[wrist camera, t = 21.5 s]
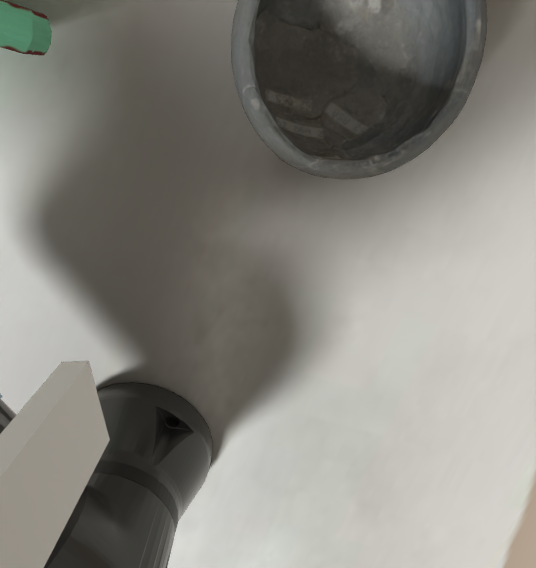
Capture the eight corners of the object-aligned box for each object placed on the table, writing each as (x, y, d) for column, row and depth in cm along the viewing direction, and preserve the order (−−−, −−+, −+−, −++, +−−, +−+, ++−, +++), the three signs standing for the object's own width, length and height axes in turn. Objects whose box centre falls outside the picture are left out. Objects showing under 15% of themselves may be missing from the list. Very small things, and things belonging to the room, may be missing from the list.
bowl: (447, 148, 35) (504, 165, 26) (260, 178, 36) (251, 205, 27) (443, -83, 29) (515, -166, 20) (223, -36, 31) (197, -93, 22)
